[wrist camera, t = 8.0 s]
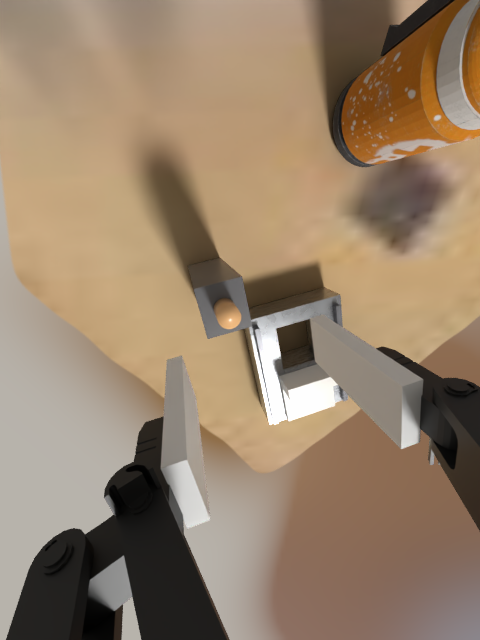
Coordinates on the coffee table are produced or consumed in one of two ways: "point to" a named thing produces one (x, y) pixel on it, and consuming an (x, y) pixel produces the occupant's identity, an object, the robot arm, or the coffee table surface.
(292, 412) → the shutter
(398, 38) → the canister
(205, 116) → the coffee table surface
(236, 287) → the plug
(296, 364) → the socket
